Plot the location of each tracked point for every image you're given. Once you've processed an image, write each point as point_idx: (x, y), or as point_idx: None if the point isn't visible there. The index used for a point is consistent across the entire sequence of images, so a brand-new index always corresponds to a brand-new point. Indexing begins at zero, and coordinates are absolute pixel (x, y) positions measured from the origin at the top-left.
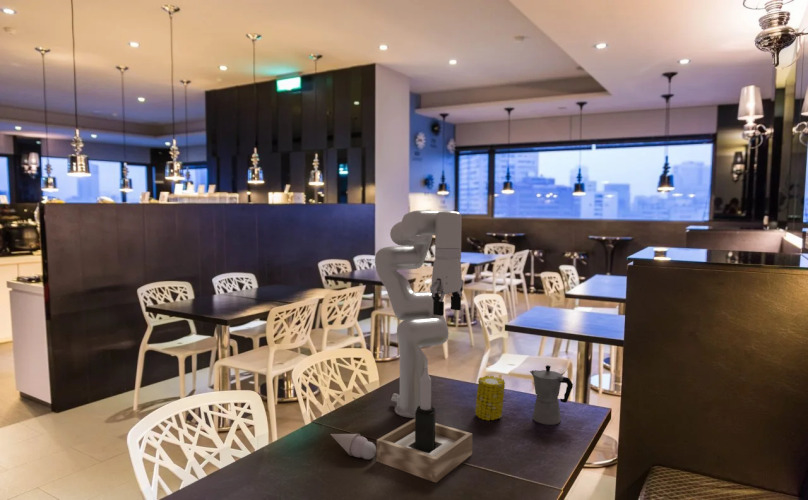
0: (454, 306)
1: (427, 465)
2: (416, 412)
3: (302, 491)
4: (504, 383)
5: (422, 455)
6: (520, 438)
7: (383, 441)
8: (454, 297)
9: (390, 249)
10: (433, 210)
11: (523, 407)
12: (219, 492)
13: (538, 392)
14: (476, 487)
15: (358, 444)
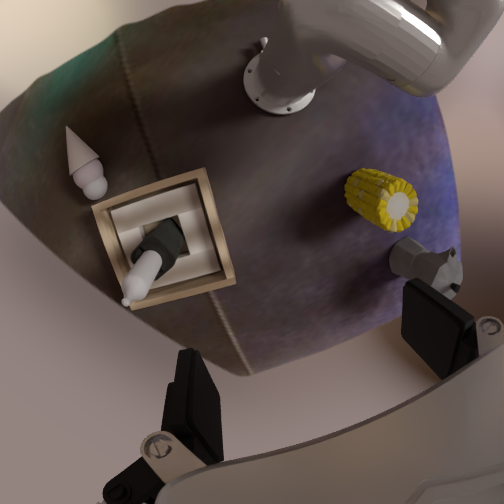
0: (413, 317)
1: None
2: (130, 257)
3: (17, 214)
4: (405, 228)
5: None
6: (329, 276)
7: (97, 217)
8: (451, 351)
9: None
10: None
11: (419, 206)
12: None
13: (419, 268)
14: (175, 329)
15: (77, 184)
